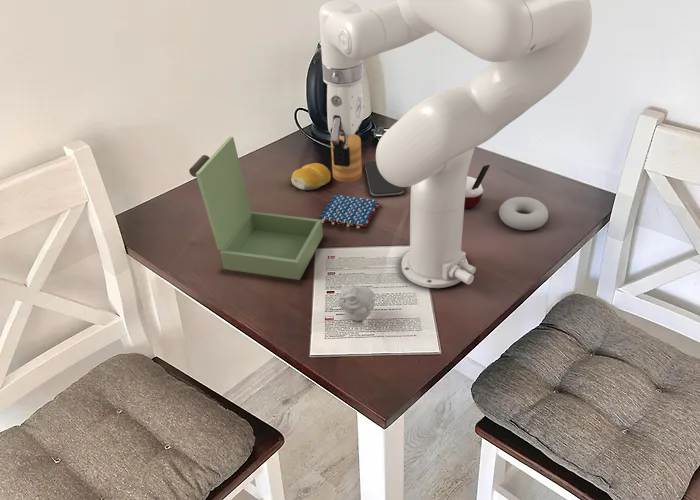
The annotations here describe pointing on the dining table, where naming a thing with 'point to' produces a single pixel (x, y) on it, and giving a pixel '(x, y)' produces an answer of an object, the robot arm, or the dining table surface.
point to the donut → (516, 220)
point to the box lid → (222, 190)
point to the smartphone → (380, 182)
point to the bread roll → (311, 176)
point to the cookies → (355, 167)
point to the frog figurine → (356, 301)
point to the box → (272, 245)
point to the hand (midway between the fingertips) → (346, 156)
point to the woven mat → (350, 211)
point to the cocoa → (474, 189)
